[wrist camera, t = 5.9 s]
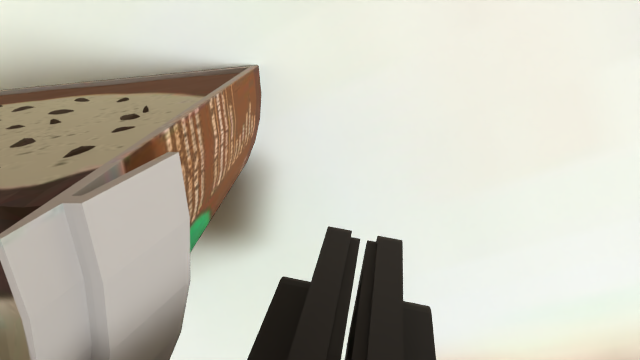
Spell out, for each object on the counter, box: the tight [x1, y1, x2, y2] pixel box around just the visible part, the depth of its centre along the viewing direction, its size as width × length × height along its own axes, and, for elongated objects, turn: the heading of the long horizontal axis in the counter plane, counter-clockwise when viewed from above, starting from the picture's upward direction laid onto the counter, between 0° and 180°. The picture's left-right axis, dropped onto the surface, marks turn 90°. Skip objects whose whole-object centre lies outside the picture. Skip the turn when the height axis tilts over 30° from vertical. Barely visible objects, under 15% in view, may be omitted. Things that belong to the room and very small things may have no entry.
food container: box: [0, 65, 261, 360], centre depth 10 cm, size 12×6×10 cm, turn 97°
